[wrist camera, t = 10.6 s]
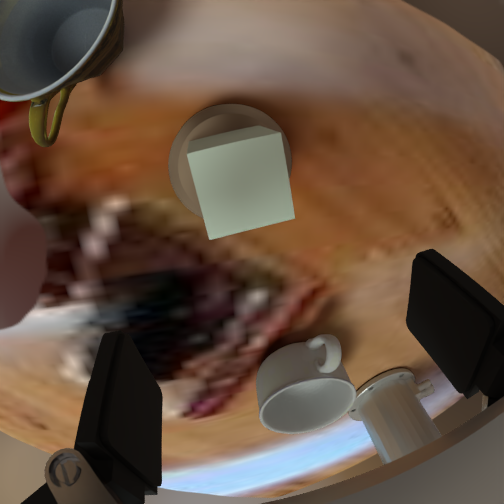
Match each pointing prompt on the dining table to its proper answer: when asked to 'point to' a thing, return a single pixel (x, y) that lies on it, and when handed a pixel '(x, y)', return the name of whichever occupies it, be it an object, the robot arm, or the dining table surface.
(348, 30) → the dining table surface
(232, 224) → the sage block
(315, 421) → the teacup
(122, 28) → the ceramic cup
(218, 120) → the brown round dish
